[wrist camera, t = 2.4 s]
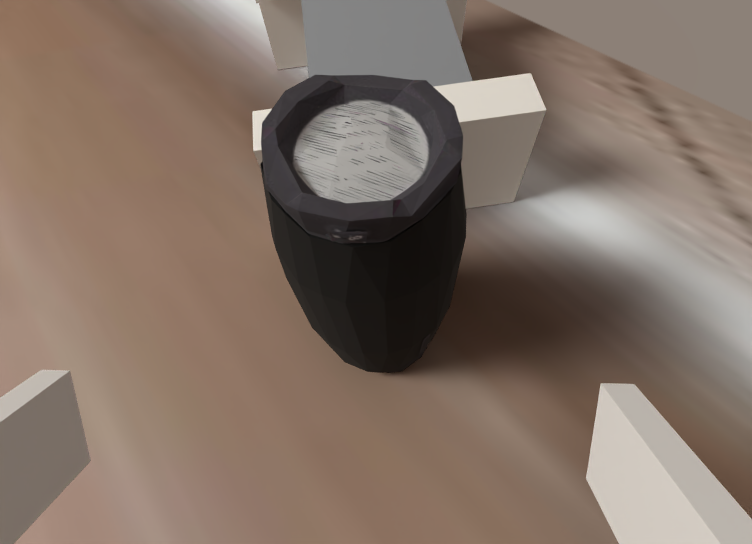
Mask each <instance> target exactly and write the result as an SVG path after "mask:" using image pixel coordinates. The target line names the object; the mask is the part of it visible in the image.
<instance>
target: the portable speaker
mask: <svg viewBox="0 0 752 544" xmlns="http://www.w3.org/2000/svg"><path fill="white" fill-rule="evenodd" d="M461 129H462V128H461V126H460V123H459V120H458V117H457V113H456V110H455V107H454V105H453V104H452V103H451V102H449V101H448V100H447V99H446V98H445V97H444V96H443V95H442V94H441V93H440V92H438V91H437V90H436V89H435V88H434V87H433V86H432V85H431V84H430V83H429V82H427V81H426V80H410V79H402V78H394V77H386V76H379V75H314V76H312V77H310V78H308V79H306V80H305V81H303V82H301V83H299V84H297V85H295V86H294V87H292V88H290V89H288V90H286V91H285V92H284V93H283V95H282V96H281V97H280V99H279V100H278V102H277V103H276V104H275V106H274V107H273V108H272V110H271V111H270V113H269V114H268V115H267V117H266V118H265V119H264V121H263V122H262V132H261V149H262V160H263V161H262V162H261V164H260V166H261V172H262V178H263V184H264V190H265V196H266V202H267V208H268V214H269V220H270V226H271V232H272V237H273V241H274V244H275V248H276V251H277V253H278V256H279V259H280V262H281V264H282V267H283V270H284V273H285V275H286V278H287V280H288V282H289V284H290V286H291V288H292V290H293V292H294V293H295V295H296V297H297V299H298V301H299V303H300V305H301V307H302V309H303V311H304V313H305V315H306V317H307V319H308V320H309V322H310V324H311V326H312V328H313V329H314V330H315V331H316V332H317V333H318V334H319V335H320V336H321V337H322V338H323V340H324V341H325V342H326V343H327V344H328V345H329V346H330V347H331V348H332V349H333V350H334V351H335V352H336V353H337V354H338V355H339V357H340V358H341V359H342V360H343V361H344V362H346V363H348V364H351V365H353V366H355V367H358V368H360V369H363V370H365V371H368V372H388V373H390V372H401V371H403V370H404V369H405V368H407V367H408V366H410V365H411V364H412V363H414V362H415V361H416V360H418V359H419V358H421V357H422V355H423V353H424V351H425V349H427V345H428V344H429V342H430V341H431V340H432V339H433V337H434V335H435V333H436V331H437V329H438V327H439V325H440V324H441V322H442V320H443V318H444V316H445V314H446V312H447V310H448V309H449V307H450V303H451V298H452V294H453V290H454V285H455V281H456V277H457V273H458V268H459V264H460V260H461V255H462V251H463V247H464V243H465V238H466V206H465V197H464V187H463V178H462V168H461V161H462V152H463V133H462V130H461Z"/></svg>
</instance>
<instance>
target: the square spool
mask: <svg viewBox="0 0 752 544" xmlns="http://www.w3.org/2000/svg"><path fill="white" fill-rule="evenodd" d="M466 2H467V0H256V3H259V5H260V8H261V12H262V15H263V19H264V23H265V26H266V30H267V33H268V37H269V41H270V44H271V48H272V51H273V55H274V58H275V62H276V66H277V69H278V70H280V69H287V68H294V67H302V66H308V73H309V78H310V77H312V76H314V75H379V76H386V77H394V78H402V79H410V80H426V81H427V82H429V83H430V84H431V85H432V86H433V87H434V88H435V89H436V90H437V91H438V92H440V93H441V94H442V95H443V96H444V97H445V98H446V99H447V100H448V101H449V102H451V103H452V104H453V105H454V107H455V110H456V113H457V117H458V120H459V123H460V126H461V128H462V129H461V130H462V133H463V152H462V161H461V168H462V178H463V187H464V197H465V206H466V209H467V208H474V207H481V206H488V205H495V204H502V203H509V202H514V200H515V197H516V194H517V192H518V189H519V186H520V183H521V180H522V178H523V175H524V172H525V169H526V166H527V163H528V161H529V158H530V155H531V152H532V149H533V147H534V144H535V141H536V138H537V135H538V132H539V130H540V127H541V124H542V121H543V118H544V115H545V113H546V108H545V106H544V103H543V101H542V99H541V96H540V94H539V91H538V89H537V87H536V84H535V82H534V80H533V77H532V75H531V73H528V74H521V75H513V76H506V77H499V78H492V79H484V80H477V81H473V80H472V77H471V74H470V71H469V68H468V65H467V63H466V60H465V57H464V54H463V51H462V48H461V42H462V34H463V26H464V18H465V10H466ZM271 110H272V109H267V110H260V111H253V151H254V154H255V156H256V159H257V161H258V164H259V166H260V164H261V162H262V161H263V160H262V149H261V132H262V122H263V121H264V119H265V118H266V117H267V115H268V114H269V113H270V111H271ZM260 169H261V166H260Z"/></svg>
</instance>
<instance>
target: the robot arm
mask: <svg viewBox="0 0 752 544" xmlns="http://www.w3.org/2000/svg"><path fill="white" fill-rule="evenodd" d="M90 461H91V460H90V455H89V451H88V447H87V442H86V438H85V434H84V429H83V425H82V421H81V416H80V412H79V408H78V403H77V399H76V394H75V390H74V386H73V381H72V377H71V373H70V371H66V370H40V371H39V372H37V373H36V374H34V375H33V376H31V377H30V378H29V379H27V380H26V381H24V382H23V383H21V384H20V385H18V386H17V387H15V388H14V389H12V390H11V391H9V392H8V393H6V394H5V395H4V396H2V397H1V398H0V544H14V543H15V542H16V541H17V540H18V539H19V538H20V536H21V535H22V534H23V533H24V532H25V531H26V530H27V529H28V528H29V527H30V526H31V525H32V524H33V523H34V521H35V520H36V519H37V518H38V517H39V516H40V515H41V514H42V513H43V512H44V511H45V510H46V509H47V507H48V506H49V505H50V504H51V503H52V502H53V501H54V500H55V499H56V498H57V497H58V496H59V495H60V493H61V492H62V491H63V490H64V489H65V488H66V487H67V486H68V485H69V484H70V483H71V482H72V481H73V480H74V478H75V477H76V476H77V475H78V474H79V473H80V472H81V471H82V470H83V469H84V468H85V467H86V466H87V464H88V463H89V462H90ZM586 479H587V481H588V483H589V485H590V487H591V489H592V491H593V493H594V495H595V497H596V499H597V501H598V503H599V505H600V507H601V509H602V511H603V513H604V515H605V517H606V519H607V521H608V523H609V525H610V527H611V529H612V531H613V533H614V535H615V537H616V539H617V541H618V543H619V544H752V519H751V518H750V517H749V515H748V514H747V513H746V512H745V511H744V510H743V509H742V507H741V506H740V505H739V504H738V503H737V502H736V500H735V499H734V498H733V497H732V496H731V495H730V494H729V492H728V491H727V490H726V489H725V488H724V487H723V486H722V484H721V483H720V482H719V481H718V480H717V479H716V478H715V476H714V475H713V474H712V473H711V472H710V471H709V469H708V468H707V467H706V466H705V465H704V464H703V463H702V461H701V460H700V459H699V458H698V457H697V456H696V455H695V453H694V452H693V451H692V450H691V449H690V448H689V446H688V445H687V444H686V443H685V442H684V441H683V440H682V438H681V437H680V436H679V435H678V434H677V433H676V432H675V430H674V429H673V428H672V427H671V426H670V425H669V424H668V422H667V421H666V420H665V419H664V418H663V417H662V415H661V414H660V413H659V412H658V411H657V410H656V409H655V407H654V406H653V405H652V404H651V403H650V402H649V401H648V399H647V398H646V397H645V396H644V395H643V394H642V393H641V391H640V390H639V389H638V388H637V387H636V386H635V384H611V383H601V385H600V392H599V398H598V405H597V411H596V418H595V424H594V431H593V437H592V444H591V450H590V457H589V463H588V470H587V476H586Z"/></svg>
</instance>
